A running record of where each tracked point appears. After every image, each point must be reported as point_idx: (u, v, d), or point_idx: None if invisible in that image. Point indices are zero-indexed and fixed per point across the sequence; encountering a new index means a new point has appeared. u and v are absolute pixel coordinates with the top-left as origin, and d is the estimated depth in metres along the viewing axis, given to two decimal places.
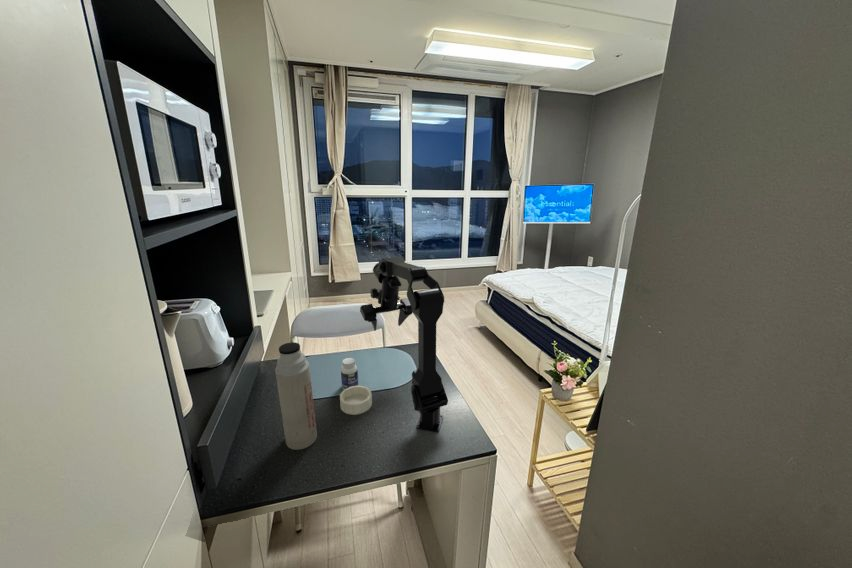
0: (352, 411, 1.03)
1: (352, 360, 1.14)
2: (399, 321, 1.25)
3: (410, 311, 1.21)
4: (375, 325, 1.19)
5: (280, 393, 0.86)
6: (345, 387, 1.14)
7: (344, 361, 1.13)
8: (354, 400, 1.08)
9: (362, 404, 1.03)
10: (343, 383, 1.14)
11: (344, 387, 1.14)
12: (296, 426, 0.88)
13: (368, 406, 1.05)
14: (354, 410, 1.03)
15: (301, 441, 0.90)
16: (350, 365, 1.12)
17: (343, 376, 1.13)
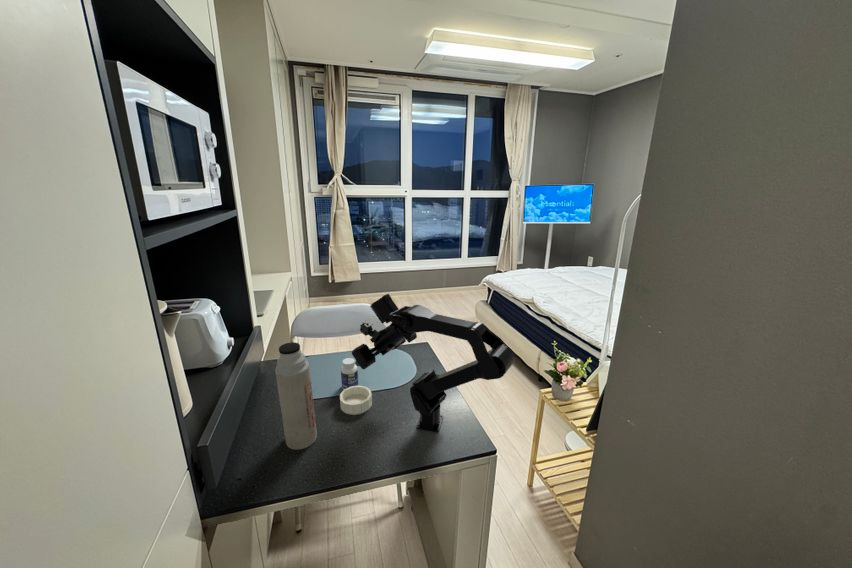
0: (352, 411, 1.03)
1: (352, 360, 1.14)
2: None
3: (400, 345, 1.08)
4: None
5: (280, 393, 0.86)
6: (345, 387, 1.14)
7: (344, 361, 1.13)
8: (354, 400, 1.08)
9: (362, 404, 1.03)
10: (343, 383, 1.14)
11: (344, 387, 1.14)
12: (296, 426, 0.88)
13: (368, 406, 1.05)
14: (354, 410, 1.03)
15: (301, 441, 0.90)
16: (350, 365, 1.12)
17: (343, 376, 1.13)
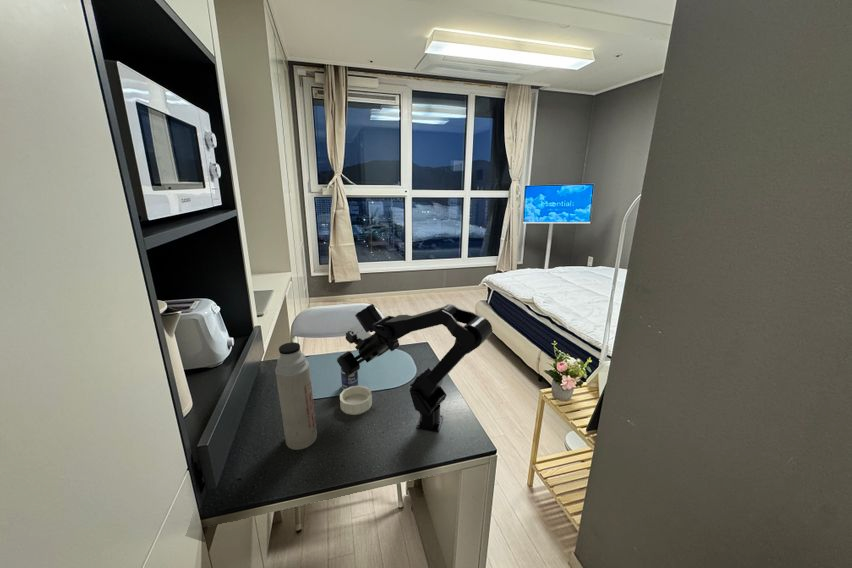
0: (352, 411, 1.03)
1: None
2: None
3: (384, 352, 1.13)
4: None
5: (280, 393, 0.86)
6: (345, 387, 1.14)
7: None
8: (354, 400, 1.08)
9: (362, 404, 1.03)
10: (343, 383, 1.14)
11: (344, 387, 1.14)
12: (296, 426, 0.88)
13: (368, 406, 1.05)
14: (354, 410, 1.03)
15: (301, 441, 0.90)
16: None
17: (343, 376, 1.13)
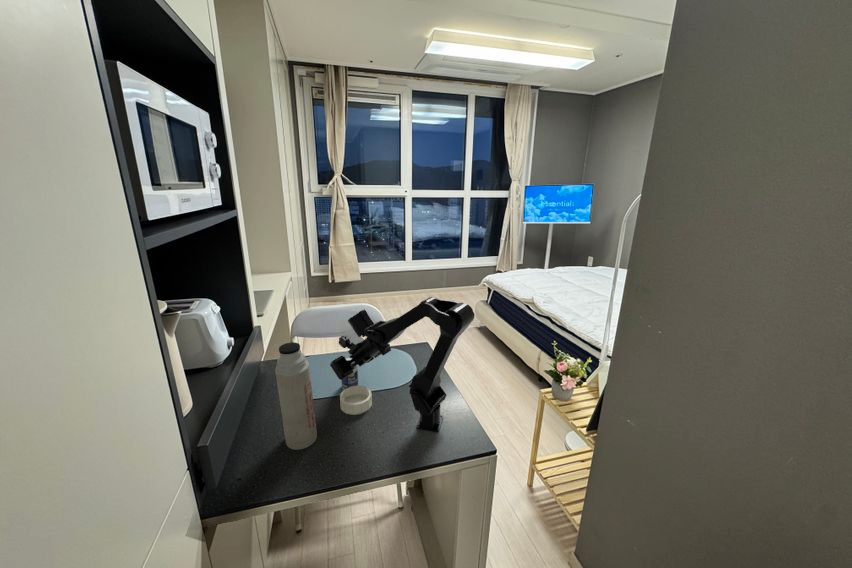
0: (352, 411, 1.03)
1: None
2: None
3: (377, 356, 1.15)
4: None
5: (280, 393, 0.86)
6: (345, 387, 1.14)
7: None
8: (354, 400, 1.08)
9: (362, 404, 1.03)
10: (343, 383, 1.14)
11: (344, 387, 1.14)
12: (296, 426, 0.88)
13: (368, 406, 1.05)
14: (354, 410, 1.03)
15: (301, 441, 0.90)
16: None
17: None
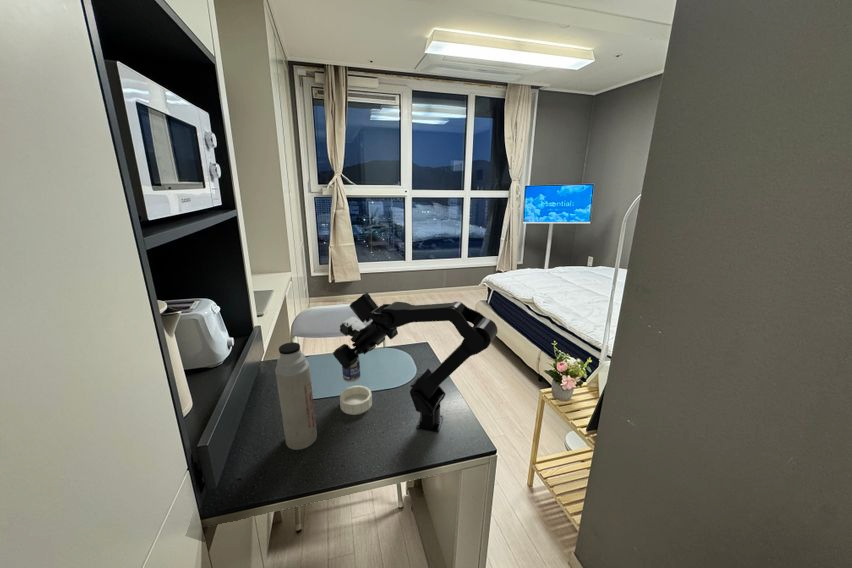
0: (352, 411, 1.03)
1: None
2: (356, 352, 1.09)
3: None
4: None
5: (280, 393, 0.86)
6: (347, 379, 1.07)
7: None
8: (354, 400, 1.08)
9: (362, 404, 1.03)
10: (345, 375, 1.07)
11: (346, 379, 1.07)
12: (296, 426, 0.88)
13: (368, 406, 1.05)
14: (354, 410, 1.03)
15: (301, 441, 0.90)
16: None
17: None
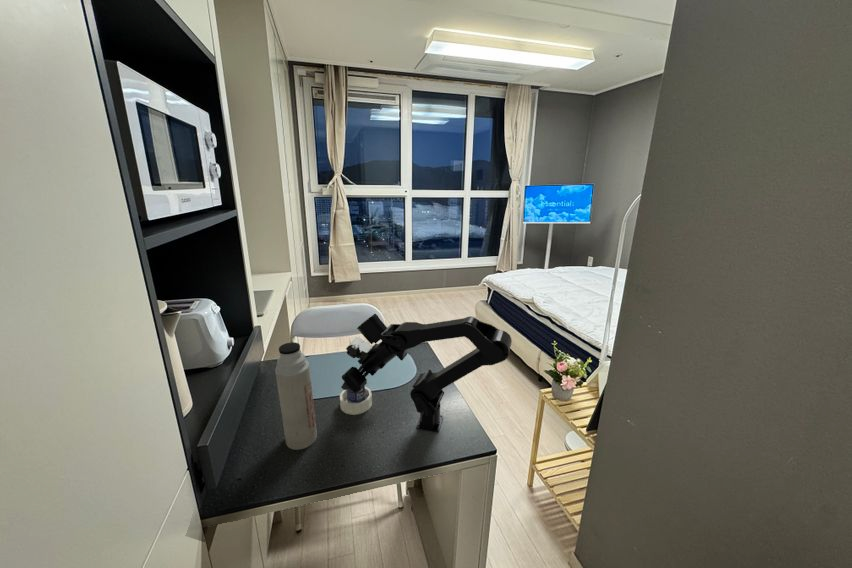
0: (352, 411, 1.03)
1: None
2: None
3: None
4: None
5: (280, 393, 0.86)
6: None
7: None
8: None
9: (362, 404, 1.03)
10: (350, 400, 1.04)
11: None
12: (296, 426, 0.88)
13: (368, 406, 1.05)
14: (354, 410, 1.03)
15: (301, 441, 0.90)
16: None
17: (351, 392, 1.03)
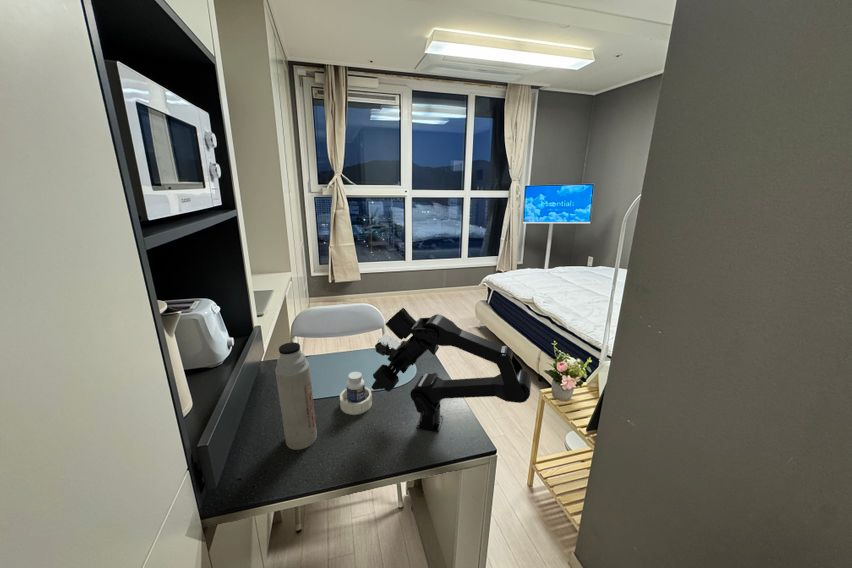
0: (352, 411, 1.03)
1: (358, 374, 1.05)
2: (391, 368, 1.04)
3: None
4: None
5: (280, 393, 0.86)
6: None
7: (350, 376, 1.04)
8: None
9: (362, 404, 1.03)
10: (351, 400, 1.04)
11: None
12: (296, 426, 0.88)
13: (368, 406, 1.05)
14: (354, 410, 1.03)
15: (301, 441, 0.90)
16: (358, 379, 1.03)
17: (351, 392, 1.03)
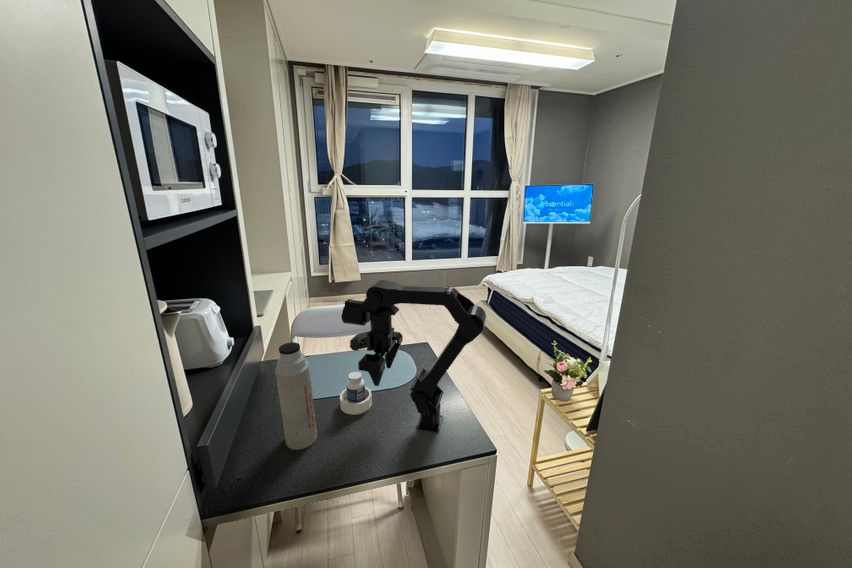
0: (352, 411, 1.03)
1: (358, 374, 1.05)
2: (389, 362, 1.03)
3: (400, 341, 1.02)
4: (381, 376, 0.93)
5: (280, 393, 0.86)
6: None
7: (350, 376, 1.04)
8: None
9: (362, 404, 1.03)
10: (351, 400, 1.04)
11: None
12: (296, 426, 0.88)
13: (368, 406, 1.05)
14: (354, 410, 1.03)
15: (301, 441, 0.90)
16: (358, 379, 1.03)
17: (351, 392, 1.03)
